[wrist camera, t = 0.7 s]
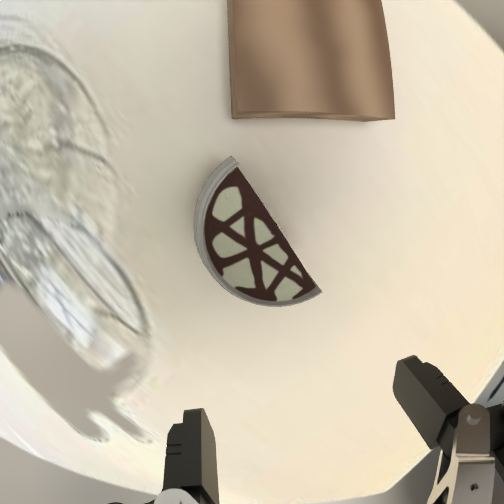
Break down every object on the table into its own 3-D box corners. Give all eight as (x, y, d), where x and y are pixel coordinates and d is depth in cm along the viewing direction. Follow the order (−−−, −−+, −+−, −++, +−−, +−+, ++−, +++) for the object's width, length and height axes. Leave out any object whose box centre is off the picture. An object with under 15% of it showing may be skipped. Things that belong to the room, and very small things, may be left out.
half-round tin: (170, 191, 28) (154, 213, 19) (223, 153, 28) (233, 156, 18) (242, 286, 32) (258, 341, 23) (290, 253, 32) (325, 297, 23)
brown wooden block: (231, 119, 27) (238, 111, 21) (226, -30, 21) (231, -60, 15) (363, 121, 29) (395, 119, 23) (348, -16, 23) (372, -37, 17)
